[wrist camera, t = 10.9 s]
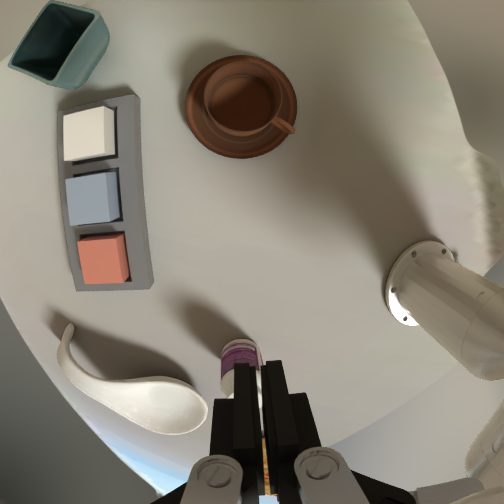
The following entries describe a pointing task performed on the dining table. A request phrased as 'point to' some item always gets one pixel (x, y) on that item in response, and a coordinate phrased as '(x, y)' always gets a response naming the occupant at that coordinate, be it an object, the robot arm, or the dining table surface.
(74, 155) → the key white
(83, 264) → the key red
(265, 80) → the cup and saucer
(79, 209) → the key blue
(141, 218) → the grey flat tray
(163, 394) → the spoon rest
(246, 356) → the pill bottle
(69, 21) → the flower pot
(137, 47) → the dining table surface
